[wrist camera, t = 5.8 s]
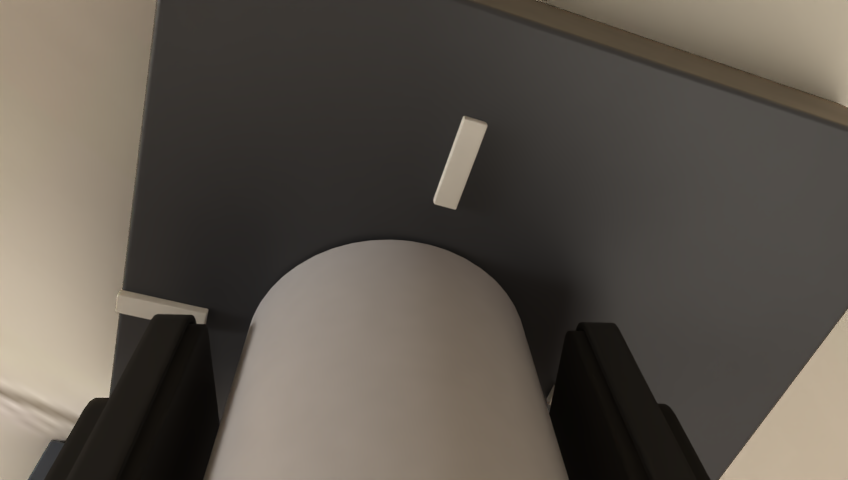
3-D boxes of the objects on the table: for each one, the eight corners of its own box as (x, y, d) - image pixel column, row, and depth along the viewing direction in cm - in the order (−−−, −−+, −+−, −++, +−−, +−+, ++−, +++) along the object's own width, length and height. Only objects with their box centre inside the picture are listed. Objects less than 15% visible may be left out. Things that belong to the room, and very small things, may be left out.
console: (221, -108, 10) (161, -101, 8) (842, 104, 13) (968, 167, 10) (144, 395, 15) (92, 508, 13) (602, 482, 18) (641, 594, 15)
